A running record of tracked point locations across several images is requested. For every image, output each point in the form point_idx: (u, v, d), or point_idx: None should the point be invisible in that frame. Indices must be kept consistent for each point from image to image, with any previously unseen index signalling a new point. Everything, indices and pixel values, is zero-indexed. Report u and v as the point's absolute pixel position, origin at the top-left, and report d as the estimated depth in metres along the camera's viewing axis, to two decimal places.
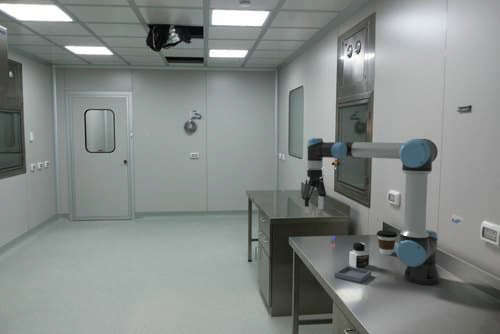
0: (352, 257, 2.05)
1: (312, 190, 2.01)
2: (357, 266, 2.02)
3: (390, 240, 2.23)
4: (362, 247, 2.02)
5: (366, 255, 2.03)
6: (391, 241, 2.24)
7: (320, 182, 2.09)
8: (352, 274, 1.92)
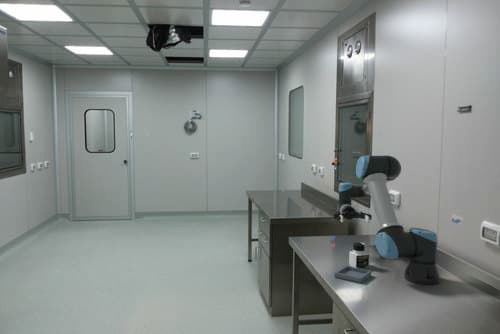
0: (352, 257, 2.05)
1: (343, 213, 2.25)
2: (357, 266, 2.02)
3: None
4: (362, 247, 2.02)
5: (366, 255, 2.03)
6: None
7: None
8: (352, 274, 1.92)
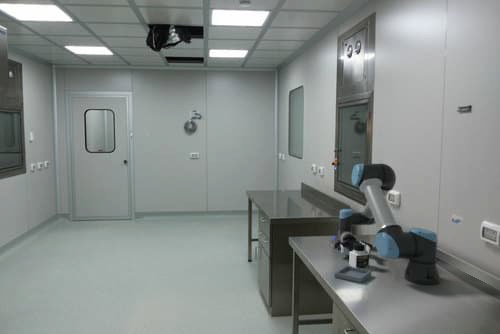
0: (352, 257, 2.05)
1: (344, 242, 2.22)
2: (357, 266, 2.02)
3: None
4: (362, 247, 2.02)
5: (366, 255, 2.03)
6: None
7: None
8: (352, 274, 1.92)
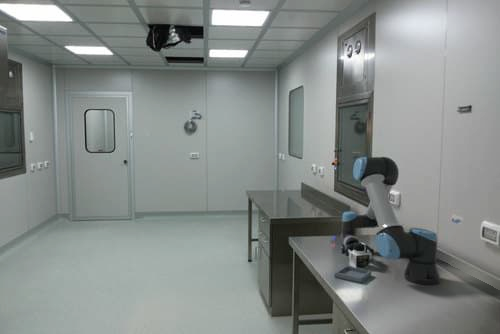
0: (352, 257, 2.05)
1: (350, 247, 2.13)
2: (357, 266, 2.02)
3: None
4: (362, 247, 2.02)
5: (366, 255, 2.03)
6: None
7: None
8: (352, 274, 1.92)
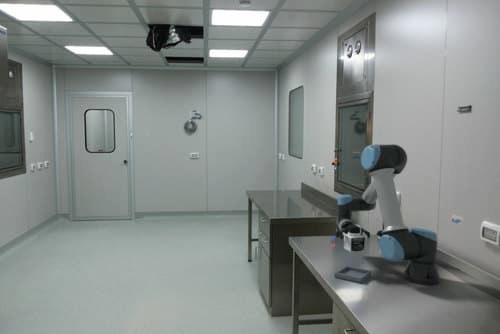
0: (347, 240, 1.94)
1: (344, 230, 2.02)
2: (352, 249, 1.91)
3: None
4: (357, 229, 1.92)
5: (361, 238, 1.92)
6: None
7: (361, 231, 2.05)
8: (352, 274, 1.92)
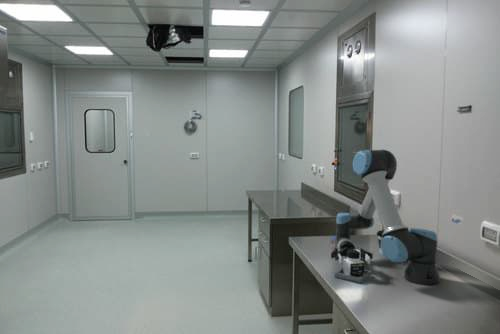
0: (346, 265, 1.90)
1: (342, 251, 1.98)
2: (351, 275, 1.87)
3: None
4: (357, 254, 1.87)
5: (361, 263, 1.88)
6: None
7: (361, 252, 2.01)
8: None
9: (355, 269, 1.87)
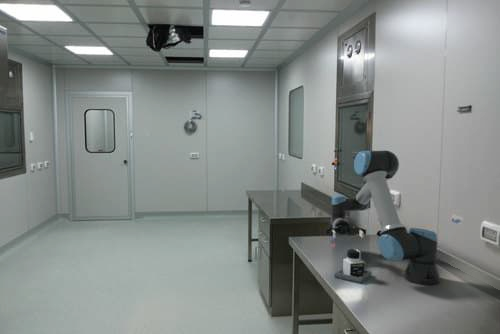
0: (346, 265, 1.90)
1: (336, 228, 2.11)
2: (351, 275, 1.87)
3: None
4: (357, 254, 1.87)
5: (361, 263, 1.88)
6: None
7: None
8: None
9: (355, 269, 1.87)
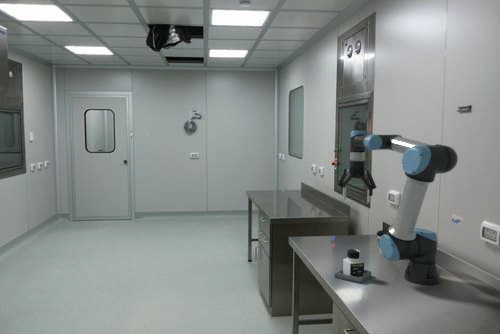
0: (346, 265, 1.90)
1: (348, 179, 2.15)
2: (351, 275, 1.87)
3: None
4: (357, 254, 1.87)
5: (361, 263, 1.88)
6: None
7: None
8: None
9: (355, 269, 1.87)
